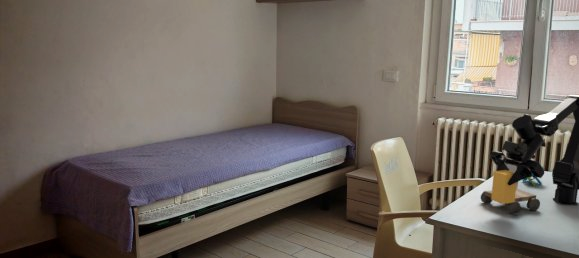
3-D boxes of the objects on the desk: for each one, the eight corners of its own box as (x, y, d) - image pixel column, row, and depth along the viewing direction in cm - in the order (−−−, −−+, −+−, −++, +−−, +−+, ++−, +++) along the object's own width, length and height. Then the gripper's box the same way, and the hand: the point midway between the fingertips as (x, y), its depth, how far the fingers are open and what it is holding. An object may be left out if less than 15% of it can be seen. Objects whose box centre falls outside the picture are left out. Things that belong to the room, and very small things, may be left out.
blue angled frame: (528, 174, 218) (545, 163, 211) (537, 186, 216) (555, 174, 209) (516, 182, 212) (533, 170, 205) (525, 194, 210) (543, 182, 203)
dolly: (508, 198, 189) (509, 186, 188) (539, 210, 177) (540, 196, 176) (480, 202, 184) (481, 189, 183) (510, 215, 171) (511, 201, 170)
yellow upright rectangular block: (502, 197, 173) (505, 169, 171) (514, 201, 169) (517, 173, 167) (491, 199, 171) (493, 171, 169) (503, 204, 166) (505, 175, 165)
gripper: (495, 128, 176) (469, 161, 173) (542, 137, 159) (514, 174, 156) (509, 148, 180) (484, 180, 178) (556, 159, 164) (529, 195, 161)
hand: (501, 182), depth 168 cm, fingers closed on yellow upright rectangular block, 5 cm apart
